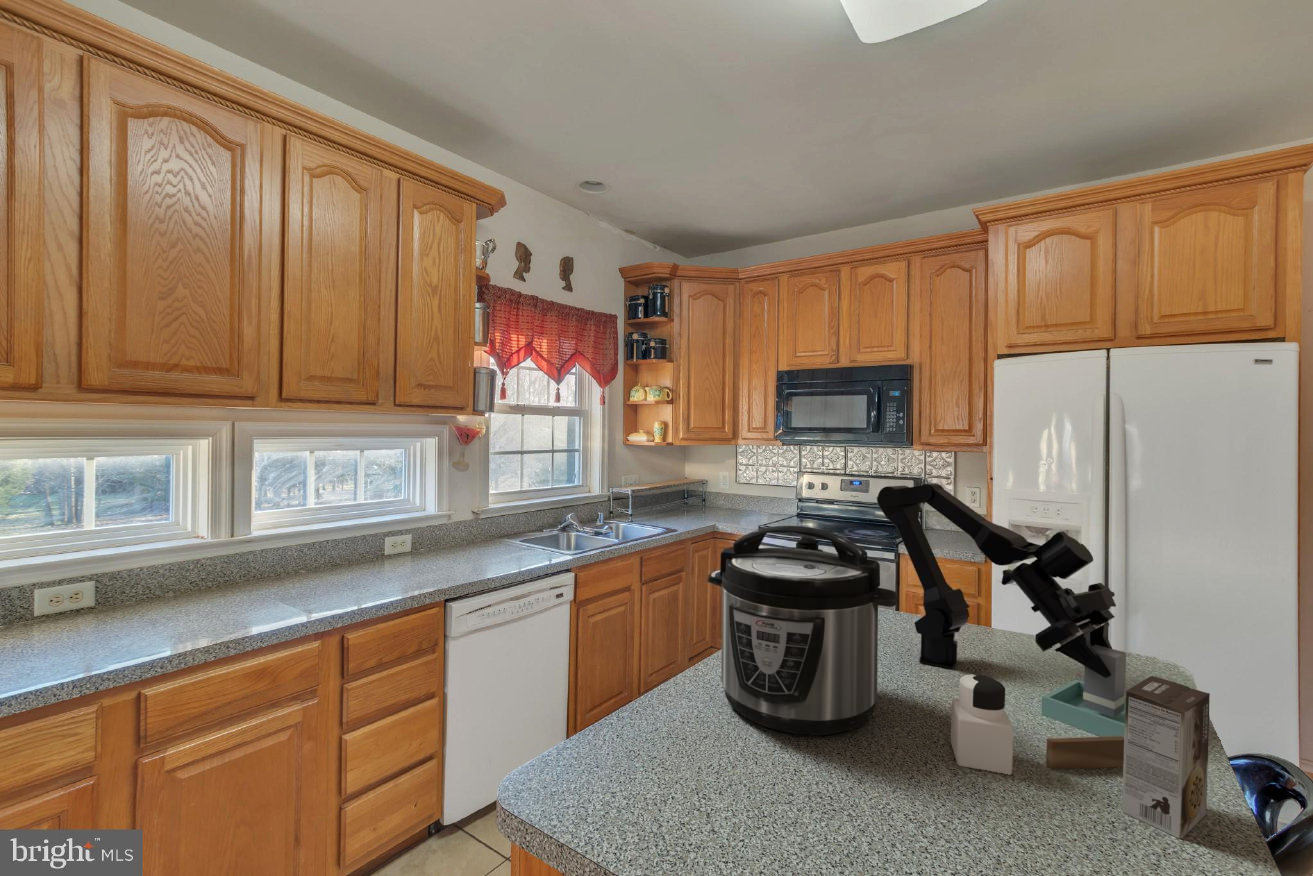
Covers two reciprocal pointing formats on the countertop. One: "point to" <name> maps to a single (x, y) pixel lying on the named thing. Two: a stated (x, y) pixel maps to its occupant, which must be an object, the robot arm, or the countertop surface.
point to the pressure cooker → (800, 631)
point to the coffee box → (1166, 755)
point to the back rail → (1085, 752)
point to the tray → (1081, 711)
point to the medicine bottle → (981, 725)
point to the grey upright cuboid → (1106, 683)
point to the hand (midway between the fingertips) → (1114, 673)
